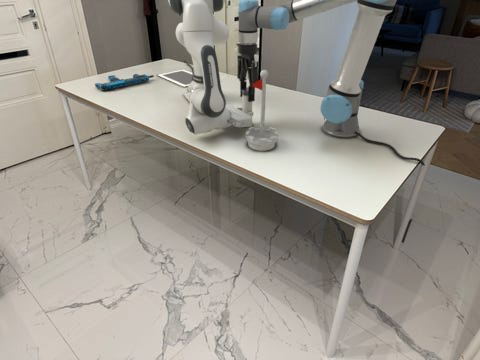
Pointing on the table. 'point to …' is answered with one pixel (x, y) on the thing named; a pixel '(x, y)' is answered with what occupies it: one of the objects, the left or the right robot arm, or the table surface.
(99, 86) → the submachine gun
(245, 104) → the jar
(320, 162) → the table surface
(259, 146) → the flag stand
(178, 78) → the tablet
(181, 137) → the table surface
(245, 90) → the lid
